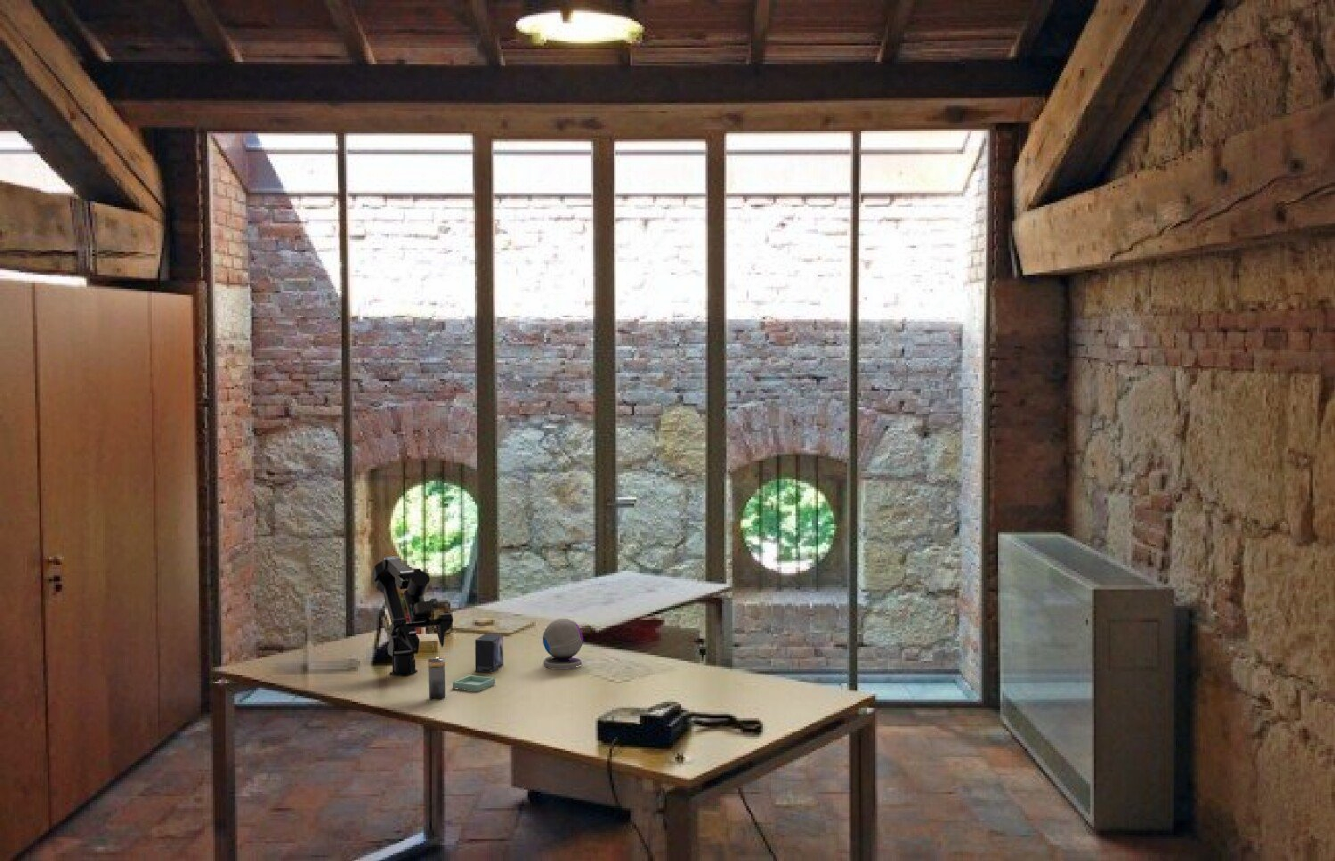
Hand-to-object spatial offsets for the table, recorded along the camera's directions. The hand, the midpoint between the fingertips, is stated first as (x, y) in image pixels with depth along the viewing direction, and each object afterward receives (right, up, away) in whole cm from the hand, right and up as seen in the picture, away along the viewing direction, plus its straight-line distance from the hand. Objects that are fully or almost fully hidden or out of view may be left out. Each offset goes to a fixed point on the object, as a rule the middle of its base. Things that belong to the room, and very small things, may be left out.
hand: (428, 648), depth 435 cm
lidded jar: (+4, -14, -6) cm, 15 cm away
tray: (+13, -13, +6) cm, 19 cm away
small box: (+15, -11, +29) cm, 34 cm away
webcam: (+38, -11, +33) cm, 51 cm away
